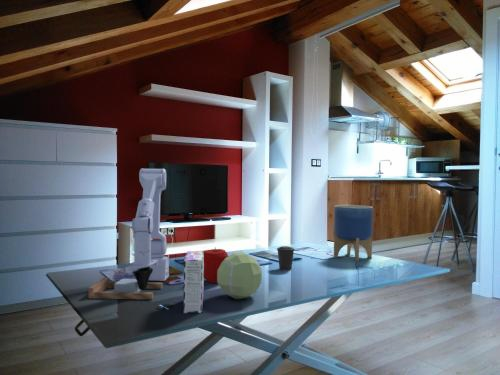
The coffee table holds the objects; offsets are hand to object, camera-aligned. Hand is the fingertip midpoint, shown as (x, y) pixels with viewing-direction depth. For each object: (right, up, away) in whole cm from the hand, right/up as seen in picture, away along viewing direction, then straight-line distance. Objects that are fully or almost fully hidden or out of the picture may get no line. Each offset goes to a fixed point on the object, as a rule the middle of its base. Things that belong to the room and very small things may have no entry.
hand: (142, 289), depth 140 cm
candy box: (+20, -2, -13) cm, 24 cm away
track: (-5, -1, 0) cm, 5 cm away
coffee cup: (+54, -1, +38) cm, 66 cm away
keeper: (-5, -2, +1) cm, 6 cm away
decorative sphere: (+34, -2, -3) cm, 34 cm away
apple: (+24, -1, +16) cm, 29 cm away
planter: (+91, 0, +65) cm, 111 cm away
